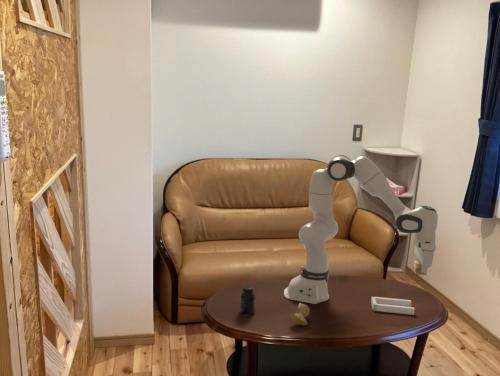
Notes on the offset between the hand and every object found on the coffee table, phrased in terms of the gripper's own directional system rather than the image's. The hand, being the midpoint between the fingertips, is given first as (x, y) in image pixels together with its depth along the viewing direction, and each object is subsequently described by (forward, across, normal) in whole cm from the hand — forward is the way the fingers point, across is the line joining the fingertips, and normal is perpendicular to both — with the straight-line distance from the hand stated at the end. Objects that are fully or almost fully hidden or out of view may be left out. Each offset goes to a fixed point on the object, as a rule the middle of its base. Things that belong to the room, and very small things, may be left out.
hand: (420, 269), depth 213 cm
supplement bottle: (+21, +20, -78) cm, 83 cm away
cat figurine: (+21, +24, -53) cm, 62 cm away
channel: (+21, 0, -11) cm, 23 cm away
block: (+2, 0, 0) cm, 2 cm away
